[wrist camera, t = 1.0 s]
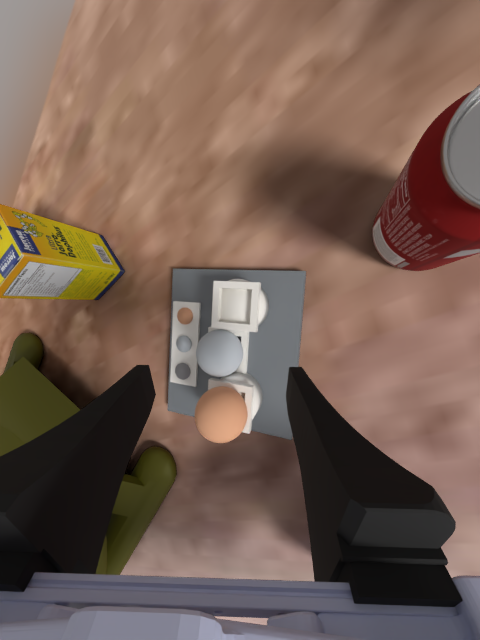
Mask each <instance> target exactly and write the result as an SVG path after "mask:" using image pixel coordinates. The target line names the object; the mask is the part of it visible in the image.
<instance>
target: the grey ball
mask: <svg viewBox="0 0 480 640" xmlns="http://www.w3.org/2000/svg"><path fill="white" fill-rule="evenodd" d="M196 358H197V362H198V364H199V366H200V367H201V369H202V370H203V371H204V372H206V373H207V374H209V375H211V376H215V377H224V376H227V375H230V374H232V373H233V372H234V371H236V370H237V369H238V367H239V366H240V364H241V362H242V359H243V347H242V344H241V342H240V340H239V339H238V337H237V336H236V335H234V334H233V333H232V332H230V331H227V330H222V329H218V330H213V331H210V332H208V333H207V334H205V335H204V336H203V337H202V338H201V340H200V341H199V343H198V345H197V349H196Z"/></svg>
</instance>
